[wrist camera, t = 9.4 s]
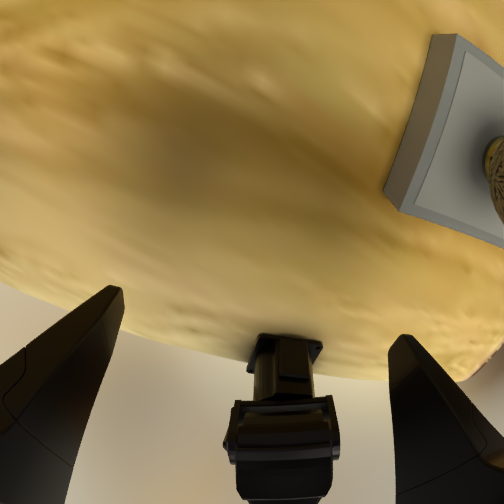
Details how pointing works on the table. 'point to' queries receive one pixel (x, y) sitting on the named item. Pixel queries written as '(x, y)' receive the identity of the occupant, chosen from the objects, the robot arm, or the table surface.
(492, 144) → the cup
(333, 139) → the table surface
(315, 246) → the table surface
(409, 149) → the slate base
